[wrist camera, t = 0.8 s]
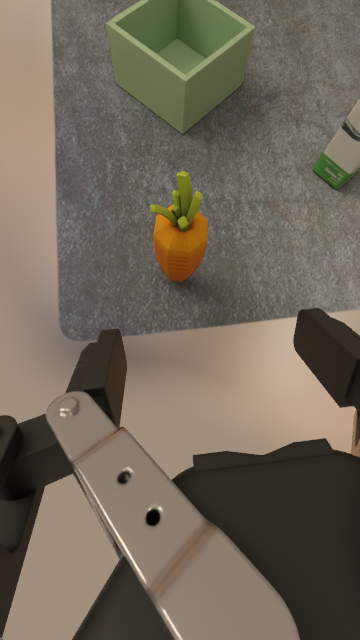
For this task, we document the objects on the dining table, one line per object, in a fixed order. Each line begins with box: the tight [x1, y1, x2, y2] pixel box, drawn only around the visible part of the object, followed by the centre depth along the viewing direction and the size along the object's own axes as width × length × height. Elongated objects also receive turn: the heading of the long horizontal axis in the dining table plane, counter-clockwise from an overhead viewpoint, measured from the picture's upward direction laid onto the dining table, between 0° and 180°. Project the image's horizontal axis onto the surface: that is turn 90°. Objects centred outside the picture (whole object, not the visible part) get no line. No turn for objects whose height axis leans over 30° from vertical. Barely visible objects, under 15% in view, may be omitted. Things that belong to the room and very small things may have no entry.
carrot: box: [150, 171, 208, 282], centre depth 25 cm, size 5×5×15 cm
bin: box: [106, 0, 255, 134], centre depth 37 cm, size 14×14×7 cm
